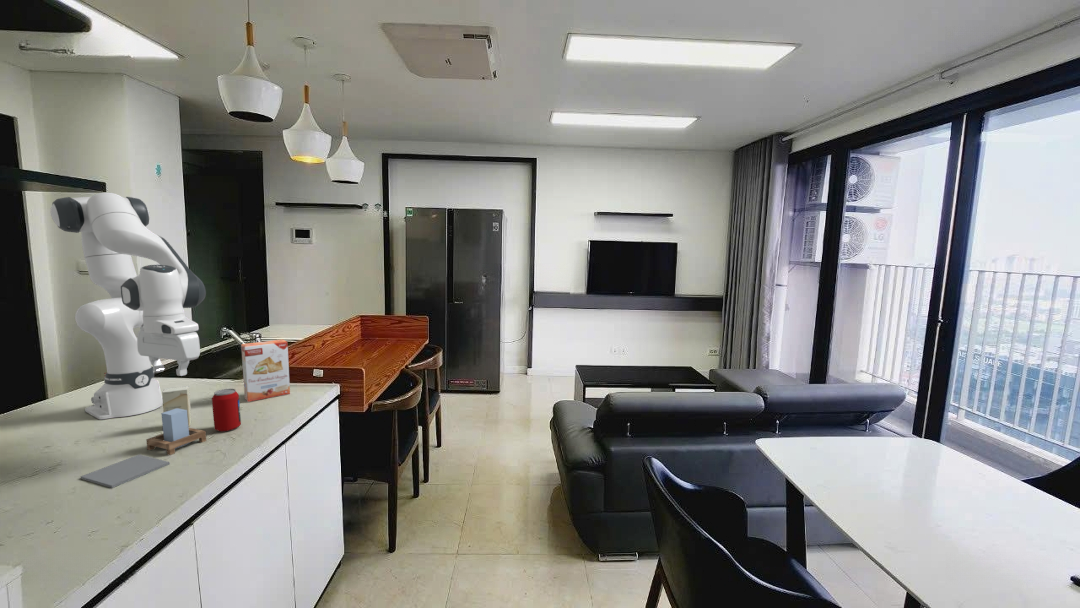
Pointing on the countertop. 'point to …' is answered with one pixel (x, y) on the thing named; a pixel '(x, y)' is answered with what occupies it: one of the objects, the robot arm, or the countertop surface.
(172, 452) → the wooden square frame
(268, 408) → the countertop surface
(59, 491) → the countertop surface
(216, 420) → the beverage can
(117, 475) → the mat
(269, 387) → the cracker box
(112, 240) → the robot arm
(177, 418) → the peg
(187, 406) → the skincare box
